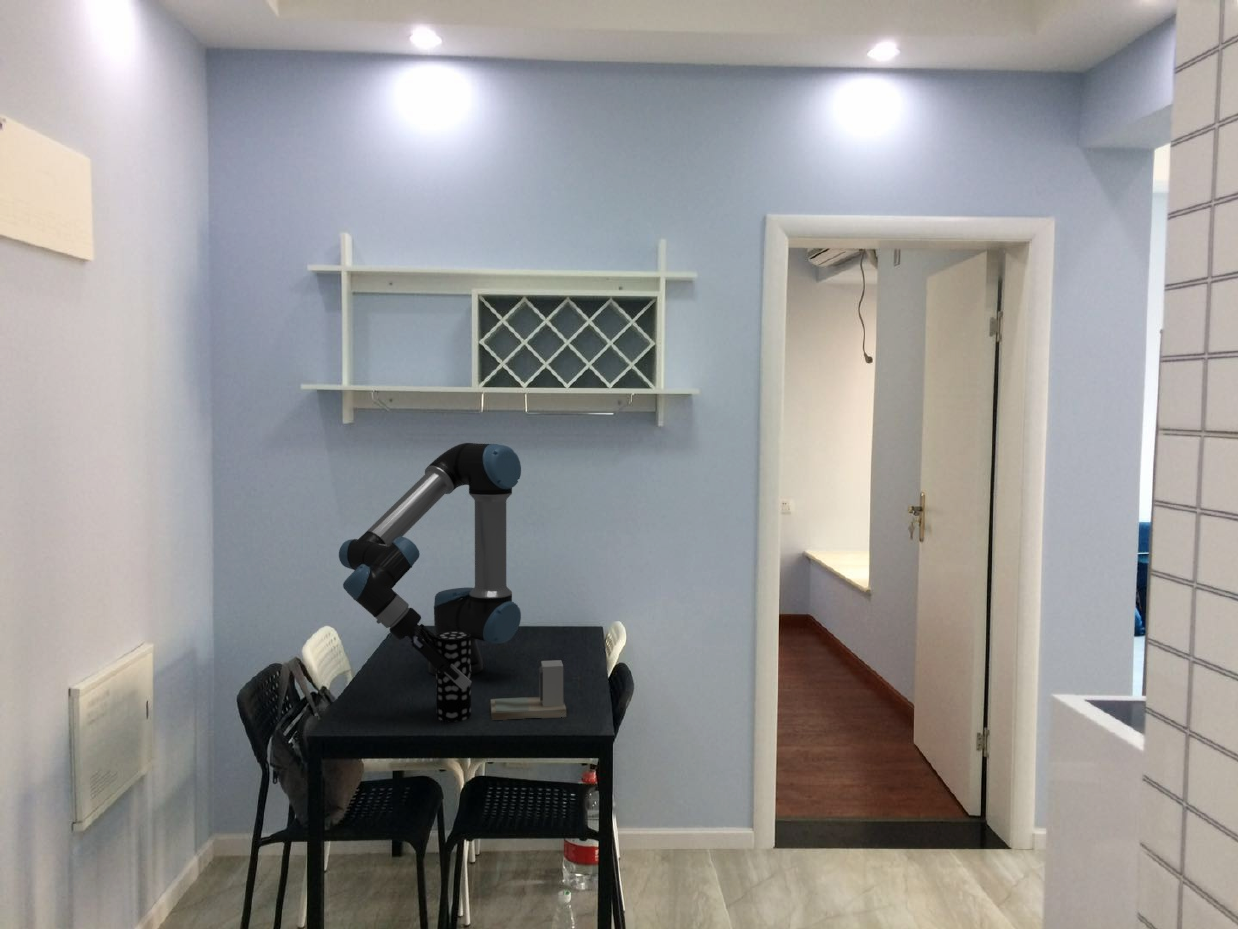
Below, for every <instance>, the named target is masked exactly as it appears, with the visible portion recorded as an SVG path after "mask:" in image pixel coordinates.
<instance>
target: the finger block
mask: <svg viewBox="0 0 1238 929" xmlns="http://www.w3.org/2000/svg"><path fill="white" fill-rule="evenodd" d="M540 665H541V666H540V667H538V697H540V701H542V705H543V707H551V706H563V700H564V664H563V662H562V660H561V659H559V660H541V661H540Z"/></svg>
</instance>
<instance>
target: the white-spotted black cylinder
mask: <svg viewBox="0 0 1238 929" xmlns="http://www.w3.org/2000/svg"><path fill="white" fill-rule="evenodd" d="M436 649H437V650H438V651H439V652H440V653H441V654H442V655H443V656H444V658H445V659H446V660H447V661H448V662H449V663H450V664H453V665H454V666H455V667H456V668H457V669H458V670H459V671H460V672H462V673H463V674H464V675H465V676H466V677H467V678H468V679H469V680H470V681H471V682H472V675H471V634H470V633H468V632H464V631H447V632H442V633H439V634H437V635H436ZM439 673H440V672H439V671H438V670H437V669H436V675H435V683H436V685H435V687H436V689H435V690H436V691H435V692H436V693H435V694H436V695H435V696H436V697H435V698H436V702H435V703H436V705H435V706H436V719H437V718H438V719H437V720H439V721H441V720H442V722H446V721H448V723H449V722H450V723H451V722H453V723H454V722H456V723H457V722H462V721H465V720H468V719H470V717H471V716H472V683H471V684H470V685H469V686H468V687H467V688H466V689H465V690H464V691H463V690H462V689H461V688H460V687H459V686H458V685H457V684H456V683H454V682H453V681H452V680H451V679H450V678H449V677H448V676H447V675H446V674H445V673H443V674H442V675H440V674H439ZM467 718H468V719H467Z"/></svg>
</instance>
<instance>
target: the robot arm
mask: <svg viewBox="0 0 1238 929" xmlns="http://www.w3.org/2000/svg"><path fill="white" fill-rule="evenodd" d="M521 475H522V465H521V461H520V458H519V456H518V454H517V453H516V452H515V451H514V450H513V449H512V448H511V447H509V446H507V445H504V444H498V443H474V442H463V443H459V444H457V445H455V446H453V447H450V448H449V449H447V450H446V451H444V452H443V453H442V454H440V455H439V456H438V457H437V458H435V459H434V460H432V462H431V463H430V464H428V465H427V467H425V469H424V475H423V476H422V477H421V478H419V480H417V481H416V482H415V483H414V485H412V487H410V489H408V490H407V492H405V493H404V494H403V495H402V496H401V497H400V498H399V499H398V500H397V501H396V502H395V503H394V504H392V506H391V507H390V508H389V509H388V510H387V511H385V513H384V514H382V516H381V517H380V518H378V519H377V520H376V521H375V523H373V525H371V526H370V527H369V528H368V529H367V531H365V532H364V533H363V534H362V535H361V536H360V537H359V538H358V539H357V538H352V539H348V540H345V541H344V542H343V543H342V544H341V546H340V548H339V550H338V558H339V562H340V563H341V565H342V566H343V567H345V568H347V569H351V570H353V571H352V573H351V574H349V575H348V577H347V578H346V579H345V580H344V581H343V584H342V587H343V589H344V591H345V592H346V593H347V594H348V595H349V596H350V597H351V598H352V599H353V600H354V601H355V602H356V603H358V604H359V605H360V606H362V608H364V609H365V610H366V611H367V612H368V613H369V614H371V615H372V617H374V618H375V620H376V623H377V624H382V626H383V627H384V628H385V629H388V628H389V632H390V633H391V634H392V635H393V636H394V637H395V638H397V639H398V640H403V639H405V637H408V638H409V639H410V643H411V646H412V647H413V648H414V649H415V650H416V651H418V652H419V653H420V654H421V655H422V656H423V658H425V659H426V660H427V661H428V672H429V673H430V674H431V675H434V676H436V669H437V670H438V671H439V672H440V673H439V674H440V675H442V674H443V673H445V674H446V675H447V676H448V677H449V678H450V679H451V680H452V681H453V682H454V683H456V684H457V685H458V686H459V687H460V688H461V689H462V690H463V691H464V690H465V689H466V688H467V687H468V686H469V685H470V684H471V685H472V682H473V681H472V680H471V681H470V680H469V679H468V678H467V677H466V676H465V675H464V674H463V673H462V672H460V671H459V670H458V669H457V668H456V667H455V666H454V665H453V664H450V663H449V662H448V661H447V660H446V659H445V658H444V656H443V655H442V654H441V653H440V652H439V651H438V650H437V649H436V635H437V634H439V633H442V632H447V631H464V632H468V633H470V634H471V676H473V675H475V674H478V673H480V672H481V671H482V670H484V669H483V664H484V660H483V658H482V655H481V653H480V648H479V646H478V642H477V640H478V641H479V640H480V641H483V642H486V643H488V644H504V643H507V642H508V641H510V640H511V639H512V638H513V637H514V636H515V634H516V633H517V631H518V629H519V627H520V625H521V620H522V614H521V613H522V612H521V608H520V607H519V606H518V604H517V603H515V601H513V592H512V590H510V588H508V587H507V501H508V498H509V497H511V496H512V494H513V488H514V487H516V485H517V484H518V483H519V479H521ZM462 486H468V495H469V496H470V497H471V498H472V499H473V500H474V587H456V588H450V589H443V590H440V591H438V592H437V593H436V594H435V595H434V603H433V604H434V605H433V617H434V618H433V622H434V623H433V624H434V626H433V628H434V633H432V632H431V630H429V629H428V628H427V627H426V626H425V625H424V624H423V623H420V622H421V619H422V615H421V614H419V612H417V610H415V609H414V608H413V607H410V605H409V603H408V602H407V601H406V600H405V599H403V597H401V596H400V595H399V594H398V593H397V592H396V591H394V589H393V588H394V587H395V586H396V585H397V583H398V582H399V581H400V580H401V579H403V577H404V576H405V575H406V574H407V573H408V572H409V571H410V569H412V568H413V566H414V564H415V563H416V562H417V560H419V558H420V550H419V548H418V547H417V545H416V544H415V543H414V542H413V541H412V540H410V539H409V538H407V537H404V536H405V535H406V533H408V532H409V530H411V529H412V528H413V527H414V526H415V524H417V523H418V521H419V520H421V519H422V518H423V516H425V514H426V513H428V512H429V511H430V510H431V508H432V507H434V505H436V503H438V502H439V501H440V499H441V498H443V497H444V496H445V495H450V494H451V493H453V492H454V491H455V490H456V489H457V488H459V487H462Z"/></svg>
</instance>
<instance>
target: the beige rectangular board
mask: <svg viewBox="0 0 1238 929" xmlns="http://www.w3.org/2000/svg"><path fill="white" fill-rule="evenodd" d="M490 717H491V718H492V719H491V721H492V720H503V721H508V720H507V719H523V720H525V719H524V718H542V719H556V718H557V719H559V718H561V717H562V718H567V706H566V704H565V701H564V699H563V706H551V707H543V705H542V701H540V697H539V696H532V697H526V696H525V697H509V698H508V697H505V698H492V699H490ZM562 718H561V719H562Z"/></svg>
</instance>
